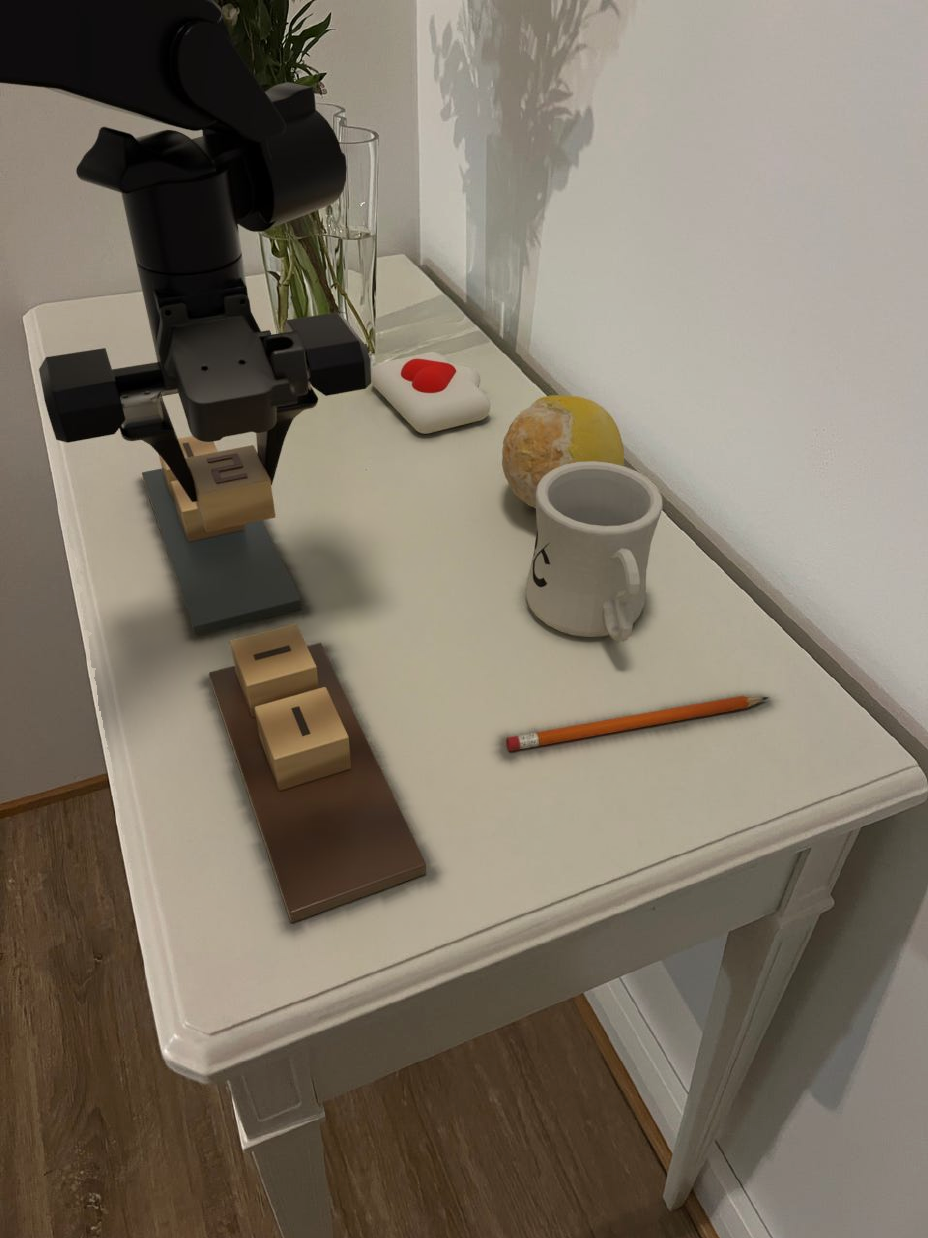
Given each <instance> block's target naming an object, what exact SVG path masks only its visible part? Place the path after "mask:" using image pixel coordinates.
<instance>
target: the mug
mask: <svg viewBox="0 0 928 1238" xmlns="http://www.w3.org/2000/svg"><path fill="white" fill-rule="evenodd" d="M662 511H663V496H662V494H661V492H660V490H659V488H658V486H656V485H655V484H654V483H653V482H652V481H651V480H650V479H649V477H647V476H645V475H643V474H642V473H640V472H639V471H636V470H634V469H632V468H629V467H627V466H625V465H624V466H620V465H616V464H612V463H606V462H596V461H589V462H576V463H571V464H566V465H563V466H560V467H558V468H555V469H553V470H552V471H550V472H549V473H548V474H546V475H545V476H544V477H543V478H542V479H541V481H540V482H539V484H538V485H537V491H536V509H535V515H536V517H535V518H536V533H535V542H534V549H533V553H532V554H533V555H532V558H531V562H530V566H529V570H528V575H527V578H526V579H527V580H526V585H525V596H526V601H527V605H528V606H529V608H530V609H531V611H532V612H533V614H534V615H535V616H537V618H539V619H540V620H541V621H543V623H545V624H546V625H547V626H549V627H551V628H552V629H555V630H556V631H559V632H560V633H564V634H567V635H571V636H575V637H583V638H584V637H585V638H597V637H598V638H599V637H606V636H609V637H610V638H611V639H612V640H614V641H615V642H618V643H624V642H627V640H629V639H630V638H631V636H632V634H633V626H634V625H633V624H634V623H635V622H636V621H637V620H638V619H639V618H640V616H641V613H642V611H643V608H644V607H645V603H646V602H645V601H646V590H647V589H646V588H647V569H648V564H649V557H650V551H651V546H652V541H653V538H654V534H655V531H656V529H657V526H658V523H659V520H660V518H661V514H662Z"/></svg>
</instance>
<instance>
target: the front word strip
mask: <svg viewBox="0 0 928 1238" xmlns="http://www.w3.org/2000/svg"><path fill="white" fill-rule="evenodd" d="M229 645H230V650H231V655H232V661H233V666H228V667H224V668H221V669H217V670H213V671H209V673H208V675H209V676H208V677H209V680H210V681H209V682H210V685H211V688H212V690H213V693H214V696H215V699H216V703H217V705H218V708H219V712H220V714H221V717H222V720H223V723H224V727H225V730H226V732H227V735H228V738H229V741H230V745H231V747H232V750H233V753H234V756H235V760H236V762H237V765H238V768H239V772H240V774H241V777H242V780H243V783H244V786H245V789H246V792H247V795H248V797H249V801H250V804H251V807H252V810H253V814H254V816H255V819H256V822H257V825H258V828H259V831H260V834H261V837H262V841H263V842H264V845H265V850H266V852H267V855H268V858H269V861H270V864H271V868H272V870H273V874H274V875H275V879H276V882H277V885H278V887H279V891H280V894H281V897H282V900H283V903H284V906H285V909H286V912H287V915H288V918H289V921H290V922H291V923H295V922H297V921H298V922H299V921H301V920H303V919H307V918H309V917H312V916H314V915H318V914H320V913H323V912H325V911H328V910H331V909H334V908H336V907H339V906H342V905H345V904H347V903H351V902H353V901H357V900H359V899H361V898H364V897H367V896H369V895H372V894H375V893H377V892H380V891H383V890H386V889H388V888H391V887H395V886H397V885H399V884H402V883H405V882H407V881H410V880H414V879H416V878H419V877H421V876H424V875H426V874H427V862H426V861H425V859H424V856H423V855H422V852H421V851H420V850H421V849H420V848H419V846H418V843H417V841H416V840H415V838H414V835H413V833H412V831H411V829H410V827H409V825H408V823H407V821H406V818H405V816H404V814H403V812H402V811H401V808H400V806H399V804H398V801H397V800H396V798H395V795H394V793H393V791H392V790H391V786H390V784H389V783H388V781H387V779H386V777H385V774H384V773H383V772H384V771H382V768H381V766H380V763H379V761H378V760H377V758H376V755H375V753H374V752H373V749H372V747H371V745H370V742H369V741H368V739H367V736H366V735H365V732H364V730H363V728H362V726H361V724H360V722H359V720H358V718H357V716H356V714H355V713H356V712H354V709H353V707H352V705H351V702H350V701H349V699H348V697H347V694H346V693H345V690H344V689H343V686H342V684H341V682H340V679H339V677H338V675H337V673H336V671H335V670H334V667H333V665H332V663H331V660H330V659H329V657H328V655H327V652H326V650H325V648H324V646H323V644H322V642H317V643H314V644H310V645H307V643H306V641H305V638H304V636H303V634H302V632H301V630H300V627H299V626H298V623H292V624H288V625H284V626H281V627H277V628H273V629H269V630H265V631H261V632H256V633H254V634H250V635H246V636H241V637H238V638H234V639H231V640H230V641H229Z"/></svg>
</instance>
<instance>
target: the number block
mask: <svg viewBox="0 0 928 1238" xmlns="http://www.w3.org/2000/svg"><path fill="white" fill-rule="evenodd" d="M186 462H187V464H188V467H189V469H190V472H191V475H192V478H193V480H194V485H195V491H196V496H197V501H196V505H197V508H198V511H199V514H200V516H201V519H202V522H203V525H204V527H205V530H206V532H211V531H215V530H220V529H225V528H229V527H234V526H238V525H243V524H248V523H252V522H257V521H261V520H263V521H265V520H269V519H274V518H276V509H275V502H274V495H273V488H272V486H271V480H270V478H269V476H268V474H267V472H266V470H265V468H264V466H263V464H262V462H261V460H260V457H259V455H258V452H257V448H256V447H255V445H254V444H251V445H245V446H240V447H236V448H231V449H225V450H218V452H214V453H209V454H204V455H199V456H193V457H188V458H186Z"/></svg>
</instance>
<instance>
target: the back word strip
mask: <svg viewBox="0 0 928 1238" xmlns="http://www.w3.org/2000/svg"><path fill="white" fill-rule="evenodd" d="M178 440H179V443H180V446H181V448H182V451H183V454H184V456H185V459H186V458H188V457H193V456H199V455H204V454H209V453H214V452H219V450H218V448H217V446H216V444H215V441H213V442H203V441H200V440H198V439H196V438H195V437H194V436H193V435H190V436H185V437H180V438H178ZM158 458H159V462H160V467H161V468H157V469H152V470H147V471H142V472H141V476H142V480H143V484H144V486H145V490H146V492H147V495H148V498H149V501H150V504H151V507H152V511H153V514H154V516H155V519H156V523H157V525H158V528H159V532H160V534H161V538H162V541H163V543H164V547H165V550H166V552H167V555H168V558H169V561H170V564H171V567H172V571H173V573H174V577H175V579H176V582H177V585H178V588H179V591H180V594H181V598H182V599H183V600H182V601H183V604H184V607H185V609H186V612H187V615H188V618H189V622H190V624H191V627H192V631H193V633H194V636H195V637H200V636H204V635H209V634H212V633H216V632H220V631H224V630H227V629H231V628H232V629H233V628H236V627H240V626H243V625H247V624H252V623H255V622H260V621H263V620H268V619H271V618H275V617H280V616H283V615H286V614H290V613H291V614H292V613H295V612H298V611H302V610H303V607H302V606H303V605H302V599H301V597H300V595H299V593H298V592H297V591H298V590H297V589H296V587H295V584H294V583H293V580H292V578H291V577H290V574H289V572H288V570H287V568H286V566H285V564H284V561H283V559H282V557H281V555H280V554H279V551H278V549H277V547H276V545H275V543H274V540H273V538H272V537H271V535H270V533H269V529H268V528H267V526H266V524H265V522H264V520H261V521H257V522H252V523H248V524H243V525H238V526H234V527H229V528H225V529H220V530H215V531H211V532H206V530H205V527H204V525H203V522H202V519H201V516H200V514H199V511H198V508H197V505H196V502H192V501H191V500H190V498H189V497H188V495H187V494H186V492H185V491H184V489H183V488H182V486H181V485H180V483H179V482H178V480H177V479H176V477H175V476H174V474H173V473H172V471H171V469H170V468H169V467H168V465H167V464H166V462H165V461H164V460H163V458H162V457H161V456H160V455H159V454H158Z"/></svg>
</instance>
